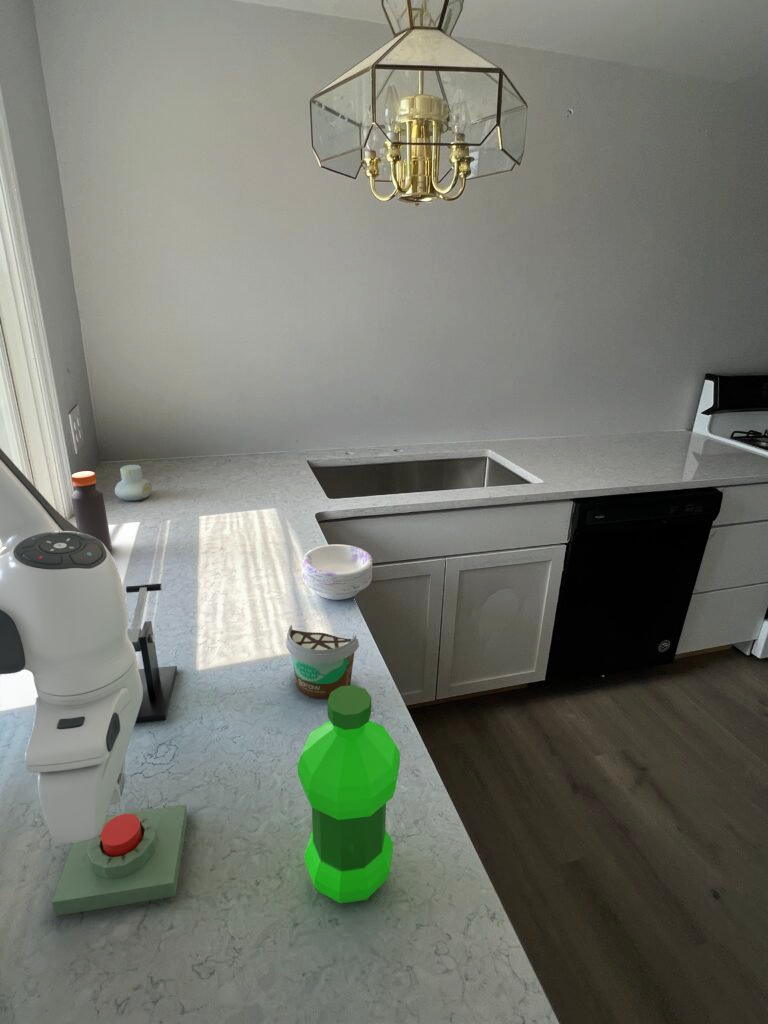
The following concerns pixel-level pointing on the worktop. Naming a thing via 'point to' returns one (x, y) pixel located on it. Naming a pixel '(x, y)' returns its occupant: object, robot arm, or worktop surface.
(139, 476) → the air freshener
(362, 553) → the paper bowls
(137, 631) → the lever
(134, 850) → the button box
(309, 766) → the plastic bottle
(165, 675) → the bracket
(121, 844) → the button
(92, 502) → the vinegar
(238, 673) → the worktop surface
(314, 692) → the food container
